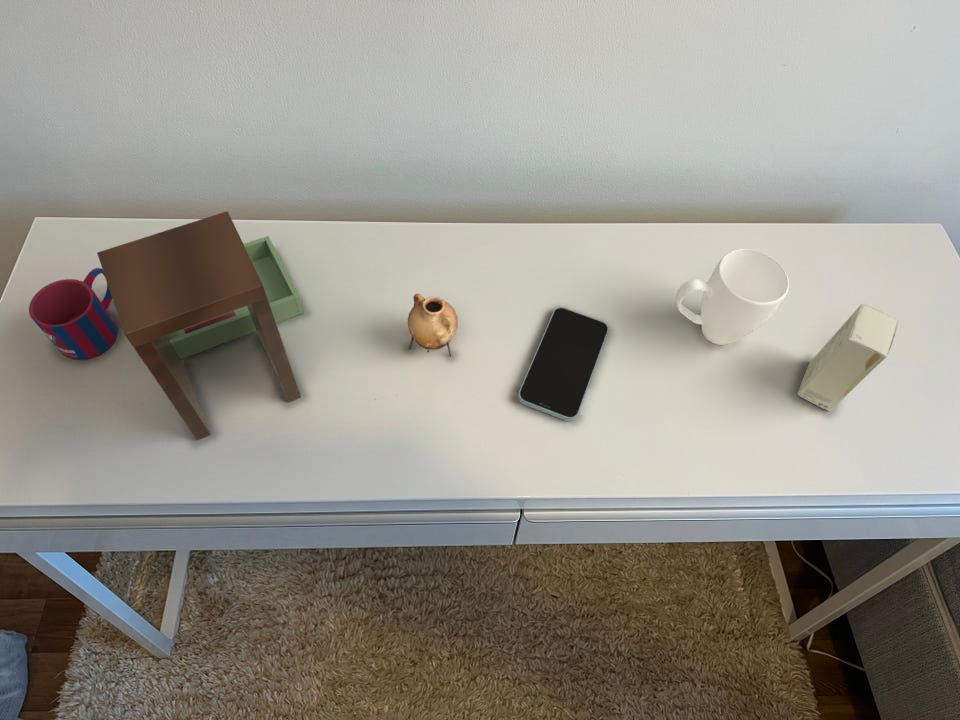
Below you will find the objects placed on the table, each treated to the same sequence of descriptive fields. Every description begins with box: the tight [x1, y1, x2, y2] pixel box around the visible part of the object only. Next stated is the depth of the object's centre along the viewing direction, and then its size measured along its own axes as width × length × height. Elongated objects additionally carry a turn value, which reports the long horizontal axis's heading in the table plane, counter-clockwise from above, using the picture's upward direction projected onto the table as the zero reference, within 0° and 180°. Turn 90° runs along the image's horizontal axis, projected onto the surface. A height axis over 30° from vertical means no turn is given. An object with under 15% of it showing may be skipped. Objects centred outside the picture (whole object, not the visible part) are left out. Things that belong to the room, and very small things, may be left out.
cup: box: [28, 267, 118, 361], centre depth 78 cm, size 7×10×7 cm
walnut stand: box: [96, 210, 302, 441], centre depth 69 cm, size 12×10×21 cm
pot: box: [407, 293, 459, 358], centre depth 80 cm, size 6×8×6 cm
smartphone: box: [517, 306, 610, 422], centre depth 82 cm, size 7×1×15 cm
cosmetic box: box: [797, 302, 900, 412], centre depth 78 cm, size 6×4×12 cm
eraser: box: [183, 311, 236, 334], centre depth 80 cm, size 6×3×2 cm
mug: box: [674, 248, 790, 346], centre depth 82 cm, size 12×8×11 cm
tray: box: [166, 235, 304, 360], centre depth 83 cm, size 16×11×4 cm
